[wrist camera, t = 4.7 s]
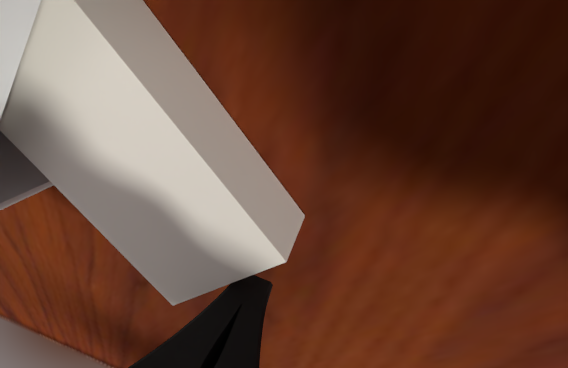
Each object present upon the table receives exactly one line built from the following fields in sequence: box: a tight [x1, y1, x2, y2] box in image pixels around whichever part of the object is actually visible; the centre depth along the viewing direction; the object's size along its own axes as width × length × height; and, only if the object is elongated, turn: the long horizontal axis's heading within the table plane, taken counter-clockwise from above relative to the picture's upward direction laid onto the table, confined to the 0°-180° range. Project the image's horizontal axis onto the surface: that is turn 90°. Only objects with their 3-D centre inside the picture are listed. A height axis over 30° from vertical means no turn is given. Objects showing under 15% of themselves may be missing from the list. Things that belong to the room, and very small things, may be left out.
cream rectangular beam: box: [0, 0, 305, 305], centre depth 10 cm, size 10×6×2 cm, turn 37°
